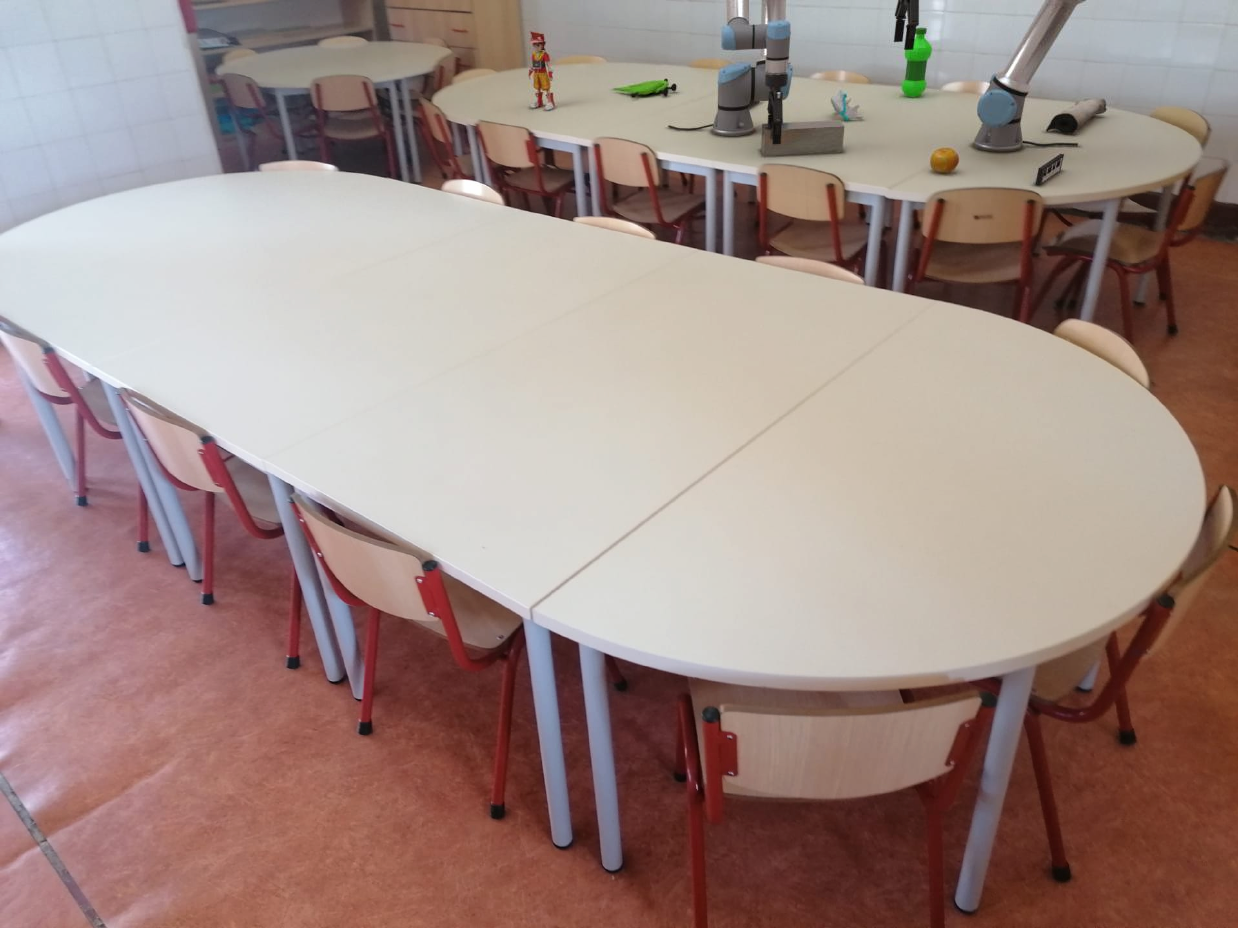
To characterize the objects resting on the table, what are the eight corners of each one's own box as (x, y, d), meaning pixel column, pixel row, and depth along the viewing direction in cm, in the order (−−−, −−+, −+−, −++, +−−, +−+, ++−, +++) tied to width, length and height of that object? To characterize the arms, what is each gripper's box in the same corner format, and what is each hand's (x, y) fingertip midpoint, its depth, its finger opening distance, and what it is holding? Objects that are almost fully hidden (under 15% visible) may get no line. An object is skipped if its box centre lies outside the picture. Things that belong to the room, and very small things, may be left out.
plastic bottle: (931, 95, 365) (940, 28, 351) (913, 100, 361) (922, 32, 346) (911, 91, 372) (920, 25, 358) (894, 96, 368) (902, 29, 353)
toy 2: (686, 85, 398) (631, 84, 414) (685, 72, 395) (629, 72, 411) (651, 104, 381) (596, 103, 397) (650, 92, 378) (594, 91, 394)
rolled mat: (1073, 103, 332) (1098, 85, 324) (1087, 124, 332) (1112, 107, 324) (1041, 125, 315) (1067, 107, 306) (1056, 147, 315) (1082, 129, 307)
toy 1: (525, 109, 381) (517, 32, 364) (534, 104, 388) (527, 28, 371) (550, 110, 377) (543, 32, 360) (559, 105, 384) (553, 28, 367)
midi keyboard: (1039, 185, 269) (1043, 168, 266) (1035, 184, 270) (1038, 168, 267) (1060, 170, 279) (1064, 154, 277) (1056, 169, 280) (1060, 153, 277)
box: (763, 156, 309) (764, 130, 304) (761, 149, 315) (762, 124, 310) (842, 152, 308) (844, 126, 303) (837, 146, 314) (839, 120, 309)
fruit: (924, 163, 281) (941, 140, 278) (925, 165, 289) (941, 143, 286) (946, 178, 280) (963, 155, 277) (947, 180, 288) (963, 158, 285)
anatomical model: (825, 90, 346) (851, 83, 346) (828, 117, 352) (853, 110, 352) (836, 99, 334) (863, 92, 333) (839, 127, 340) (865, 120, 339)
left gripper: (793, 79, 286) (790, 147, 298) (782, 65, 307) (779, 129, 319) (770, 81, 287) (767, 149, 298) (760, 66, 307) (758, 130, 319)
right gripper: (935, -25, 267) (925, 52, 279) (913, -34, 288) (905, 38, 300) (910, -23, 268) (901, 53, 280) (890, -33, 288) (882, 39, 300)
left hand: (773, 139), depth 309 cm, fingers open, 13 cm apart
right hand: (903, 46), depth 290 cm, fingers open, 13 cm apart
